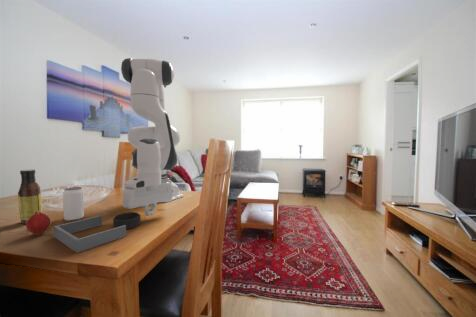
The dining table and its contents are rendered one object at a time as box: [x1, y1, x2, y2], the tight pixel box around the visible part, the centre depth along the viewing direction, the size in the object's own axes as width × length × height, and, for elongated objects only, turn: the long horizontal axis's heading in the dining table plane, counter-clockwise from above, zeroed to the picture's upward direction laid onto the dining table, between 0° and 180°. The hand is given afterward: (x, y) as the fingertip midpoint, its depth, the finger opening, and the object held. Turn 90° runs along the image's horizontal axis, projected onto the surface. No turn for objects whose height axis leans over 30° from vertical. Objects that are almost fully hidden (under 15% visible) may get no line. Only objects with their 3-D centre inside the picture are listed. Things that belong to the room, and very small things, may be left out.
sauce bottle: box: [17, 168, 43, 225], centre depth 83 cm, size 7×6×20 cm
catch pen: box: [53, 214, 127, 254], centre depth 70 cm, size 14×18×4 cm
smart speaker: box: [112, 211, 142, 230], centre depth 80 cm, size 9×9×4 cm
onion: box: [25, 211, 51, 236], centre depth 71 cm, size 6×6×8 cm
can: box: [62, 186, 85, 222], centre depth 87 cm, size 6×6×12 cm
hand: (150, 214), depth 87 cm, fingers closed
